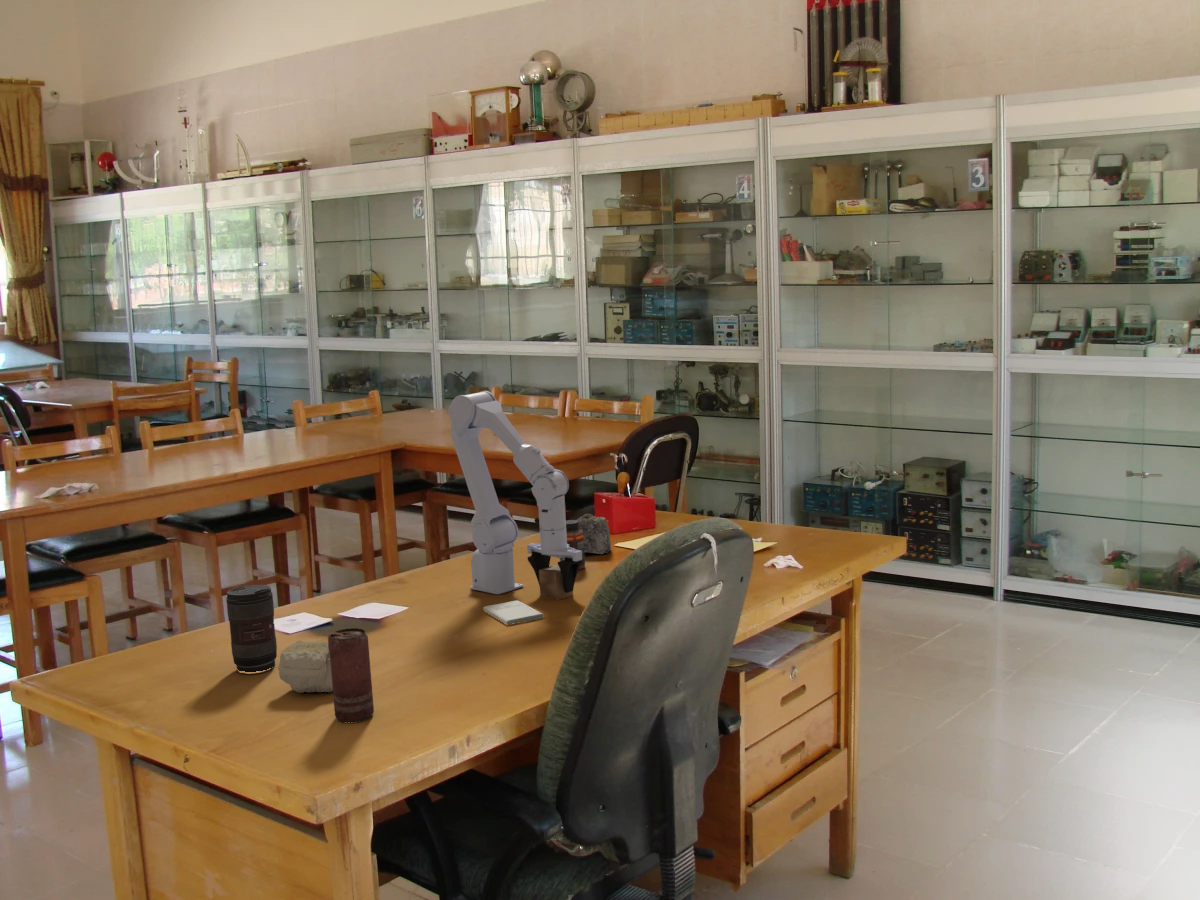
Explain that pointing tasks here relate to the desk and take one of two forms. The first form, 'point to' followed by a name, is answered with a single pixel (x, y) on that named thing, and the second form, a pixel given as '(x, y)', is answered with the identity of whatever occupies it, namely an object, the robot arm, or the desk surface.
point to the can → (351, 675)
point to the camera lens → (252, 627)
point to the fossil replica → (306, 666)
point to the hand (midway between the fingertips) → (556, 589)
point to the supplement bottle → (575, 539)
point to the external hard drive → (513, 612)
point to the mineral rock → (595, 534)
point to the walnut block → (552, 583)
